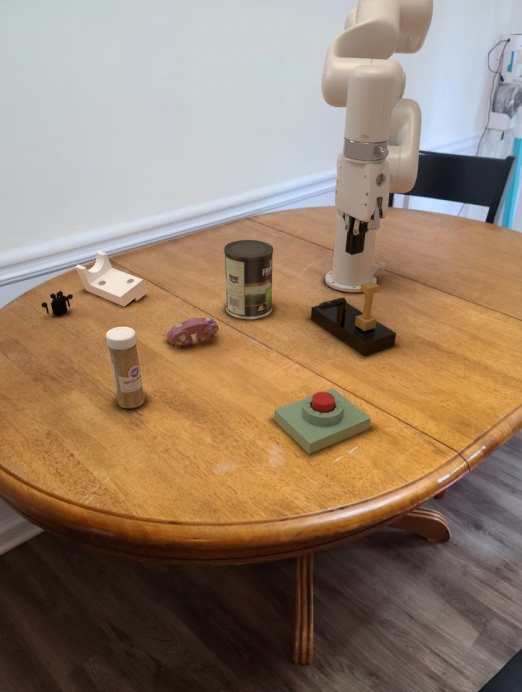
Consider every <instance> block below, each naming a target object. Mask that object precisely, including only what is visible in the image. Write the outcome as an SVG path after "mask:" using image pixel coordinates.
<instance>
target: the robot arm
mask: <svg viewBox="0 0 522 692" xmlns="http://www.w3.org/2000/svg"><path fill="white" fill-rule="evenodd" d="M433 14H434V0H358V1H357V6H356V7H354V8H353V9H351V10H350V11H349V12H348V13H347V15H346V17H345V21H344V27H343V28H344V29H343V31H342V32H341V33H339V34H338V35H337V36H335V37H334V39H332V41H331V42H330V44H329V46H328V48H327V50H326V55H325V57H324V58H325V59H324V64H323V68H322V75H321V95H322V97H323V100H324V102H325V103H326V104H327V105H328V106H330V107H333V108H345V120H344V133H343V142H342V143H343V144H342V146H343V147H342V148H341V150H340V151H339V153H338V155H337V159H336V182H335V191H334V206H335V208H336V216H335V217H336V218H335V230H334V231H335V232H334V240H333V241H334V242H333V243H334V244H333V255H332V267H331V270H330V271H328V272H327V273H326V274H325V276H324V280H325V281H324V282H325V284H326V285H327V286H328V287H330V288H332V289H334V290H336V291H340V292H344V293H363V292H362V291H360V289H361V284H364V283H367V282H371V281H372V282H374V283H376V284H377V281H378V279H377V277H376V275H375V274H377V273H378V272H380V271H384V270H386V269H387V264H386V262H385V261H380V262H377V263H376V261H375V260H374V255H375V254H374V253H375V245H376V238H377V230H378V229H380V227H381V223H380V222H381V221H380V219H381V220H383V219H386V218H387V215H388V210H389V201H390V200H389V199H390V194H407V193H408V192H410V191H412V189H413V188H414V186H415V184H416V181H417V178H418V170H419V158H420V147H421V136H422V135H421V134H422V110H421V106H420V104H419V102H417V101H416V100H414V99H411V98H405V97H404V94H405V89H406V85H407V84H406V81H407V75H406V72H405V71H404V68H403V66H402V65H401V63H400V62H398V61H396V60H392V59H389V58H391V57H392V56H393V55H394V54H411V55H412V54H416V53H418V52H419V51H420V50H422V48H423V46H424V44H425V41H426V38H427V36H428V33H429V31H430V27H431V23H432V20H433ZM403 97H404V98H403Z"/></svg>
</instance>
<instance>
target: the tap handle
mask: <svg viewBox="0 0 522 692" xmlns="http://www.w3.org/2000/svg"><path fill="white" fill-rule="evenodd" d="M380 287H381V285H380V284H378V283H377V282H376V283H374V282H372V281H371V282H367V283H364V284H361V289H360V291H362V292H361V293H364V300H363V309H362V312H363V314H362V315H359V316H356V320H355V325H356V326H357V327H359V328H360V329H362V330H363V331H366V330H369V329H372V328H375V327H376V321H377V320H378V319H377V318H376V317H374V316H373V315H372V309H373V302H374V301H373V300H374V294H377V293H379V292H380V289H381V288H380ZM377 322H378V321H377Z"/></svg>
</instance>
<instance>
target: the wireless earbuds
mask: <svg viewBox="0 0 522 692" xmlns="http://www.w3.org/2000/svg"><path fill="white" fill-rule="evenodd" d="M49 298H50V299H52V301H51V302H50V308H51V311H52V314H53V315H54V316H60V315H63V314H66V313H67V312H68V308H70V307H71V302H70V300H72V299H73V298H74V295H73V294H72V293H69V294H67V295H64V292H63V291H62V290H59V291H57V292H56V293H50V295H49ZM41 307H42V308H43V309H45V310H46V315H50V310H49V306H48V303H47V302H46V301H43V302H42V303H41Z"/></svg>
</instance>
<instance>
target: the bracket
mask: <svg viewBox="0 0 522 692" xmlns="http://www.w3.org/2000/svg"><path fill="white" fill-rule="evenodd" d="M95 256H96V259H95V263H94V265H93V266H92V267H91V268H89V269H87V267H86V266H83V265H81V264H77V265H75V270H76V272H77V273H78V276H79V279H80V280H81V282H82V284H83V287H84V289H85V290H86V292H88V293H91V294H93V295H96V296H98V297H100V298H102V299H105V300H107V301H110V302H112V303H115V304H117V305H119V306H121V307H126V306H127V305H129V304H130V303H131V302H132V301H136V302H137V301H139V300H140V299H141V298H143V297H144V296H146V295H147V294H148V292H149V291H148V289H147V286H146V284H145V281H144V279H142V278H141V277H138V276H134V275H132V274H129V273H127V272H125V271H121V270H119V269H116V268H114V267H113V266H112V264H111V262H110V261H111V260H110V259H109V257H108V254H107V252H104V251H103V250H102V251H101V250H99V249H98V250H97V251H95Z"/></svg>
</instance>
